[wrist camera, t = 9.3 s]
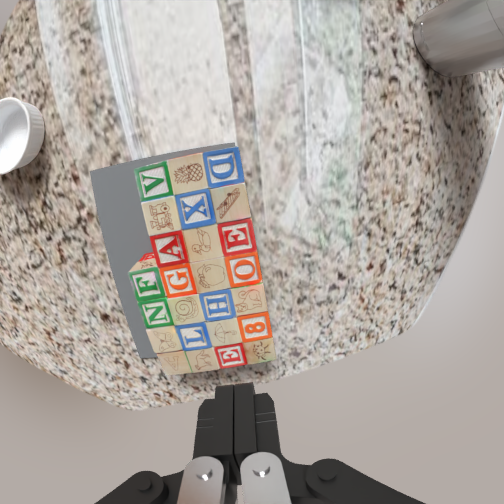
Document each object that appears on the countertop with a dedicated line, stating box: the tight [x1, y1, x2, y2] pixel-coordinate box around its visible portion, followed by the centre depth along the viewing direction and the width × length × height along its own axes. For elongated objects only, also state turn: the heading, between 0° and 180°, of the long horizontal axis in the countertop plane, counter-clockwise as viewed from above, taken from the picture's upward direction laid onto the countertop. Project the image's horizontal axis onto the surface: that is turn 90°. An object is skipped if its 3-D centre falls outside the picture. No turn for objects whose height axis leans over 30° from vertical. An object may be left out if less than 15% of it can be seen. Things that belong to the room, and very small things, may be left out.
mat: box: [90, 143, 235, 358], centre depth 34 cm, size 16×24×1 cm, turn 7°
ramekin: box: [0, 97, 45, 174], centre depth 26 cm, size 9×9×4 cm
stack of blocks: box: [128, 146, 276, 376], centre depth 31 cm, size 21×6×12 cm
